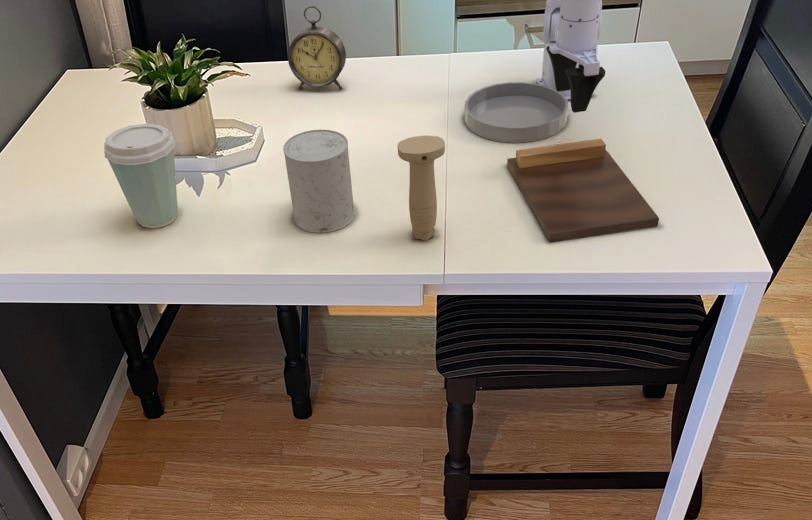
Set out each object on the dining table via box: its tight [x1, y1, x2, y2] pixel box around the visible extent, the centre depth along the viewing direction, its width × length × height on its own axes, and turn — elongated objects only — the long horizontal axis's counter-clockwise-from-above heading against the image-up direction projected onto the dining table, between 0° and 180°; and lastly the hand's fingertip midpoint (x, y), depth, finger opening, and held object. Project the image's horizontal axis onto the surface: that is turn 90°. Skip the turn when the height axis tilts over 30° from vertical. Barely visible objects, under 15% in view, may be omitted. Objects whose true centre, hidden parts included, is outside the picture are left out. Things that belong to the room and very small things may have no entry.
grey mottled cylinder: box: [282, 129, 356, 234], centre depth 119 cm, size 10×10×12 cm
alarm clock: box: [287, 5, 347, 90], centre depth 154 cm, size 11×5×16 cm, turn 77°
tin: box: [464, 81, 569, 144], centre depth 141 cm, size 18×18×3 cm
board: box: [506, 148, 660, 243], centre depth 121 cm, size 22×16×2 cm
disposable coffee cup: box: [103, 123, 179, 229], centre depth 122 cm, size 11×11×15 cm
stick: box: [515, 138, 607, 168], centre depth 126 cm, size 2×14×2 cm, turn 97°
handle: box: [397, 135, 446, 242], centre depth 112 cm, size 5×6×15 cm
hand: (570, 100), depth 126 cm, fingers open, 7 cm apart
